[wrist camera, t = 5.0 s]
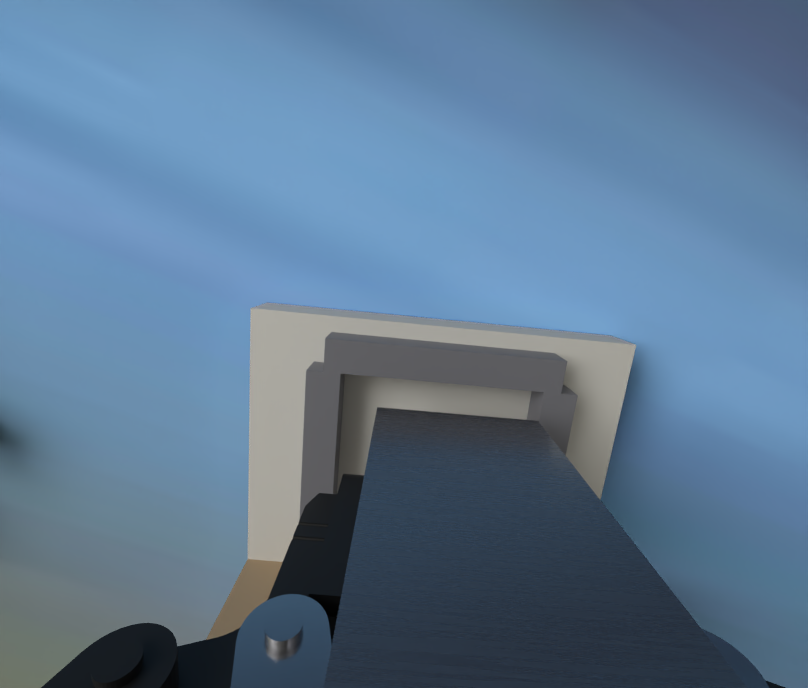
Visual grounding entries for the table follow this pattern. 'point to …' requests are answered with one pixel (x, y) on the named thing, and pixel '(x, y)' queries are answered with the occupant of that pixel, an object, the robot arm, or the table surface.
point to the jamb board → (400, 406)
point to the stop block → (500, 571)
